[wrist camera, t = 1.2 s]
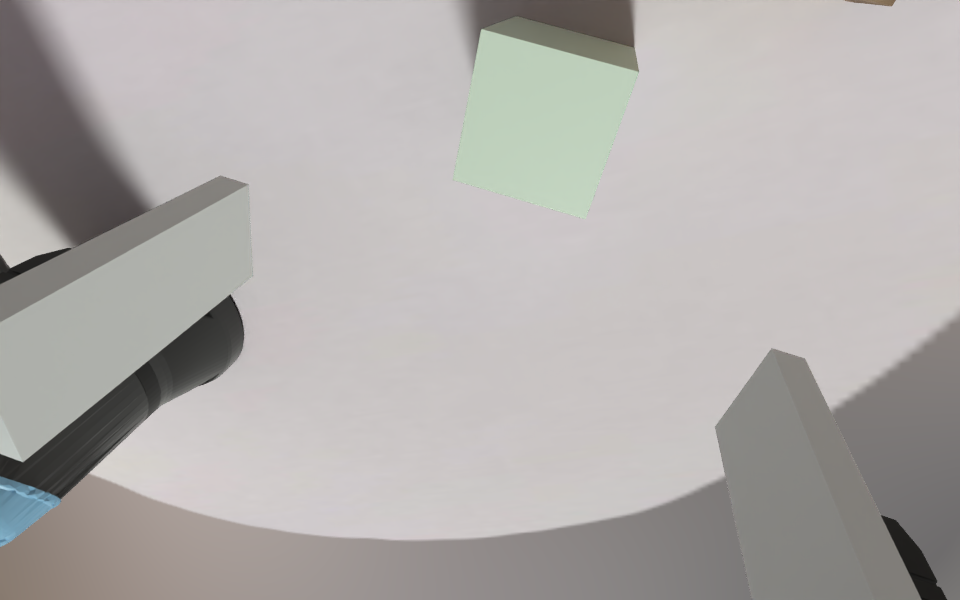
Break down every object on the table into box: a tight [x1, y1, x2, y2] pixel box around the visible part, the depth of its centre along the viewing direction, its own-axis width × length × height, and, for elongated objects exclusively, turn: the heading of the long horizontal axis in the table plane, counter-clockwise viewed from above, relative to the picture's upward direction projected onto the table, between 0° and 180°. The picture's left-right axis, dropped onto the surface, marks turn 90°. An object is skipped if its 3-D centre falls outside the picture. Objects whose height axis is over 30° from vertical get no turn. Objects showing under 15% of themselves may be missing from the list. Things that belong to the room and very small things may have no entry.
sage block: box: [453, 16, 639, 219], centre depth 27 cm, size 7×7×9 cm
